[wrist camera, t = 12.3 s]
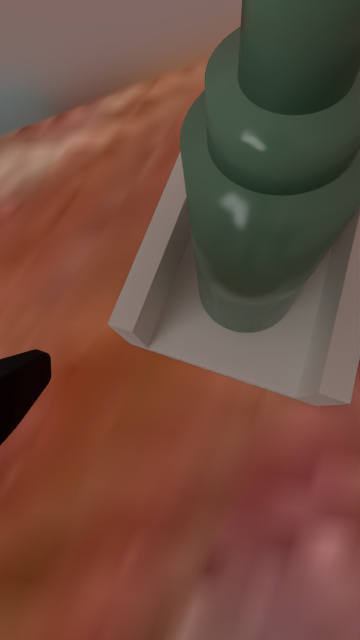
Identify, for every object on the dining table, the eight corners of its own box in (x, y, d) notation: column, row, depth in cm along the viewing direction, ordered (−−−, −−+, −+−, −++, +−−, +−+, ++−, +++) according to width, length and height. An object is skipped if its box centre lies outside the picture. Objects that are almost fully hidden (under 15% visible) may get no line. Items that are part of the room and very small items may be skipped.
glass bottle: (226, 349, 17) (282, 14, 3) (183, 271, 18) (83, -184, 4) (312, 305, 17) (757, -208, 3) (262, 232, 18) (401, -320, 5)
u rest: (316, 406, 16) (350, 403, 12) (130, 343, 18) (107, 324, 14) (355, 236, 18) (394, 188, 15) (188, 197, 20) (182, 145, 16)
